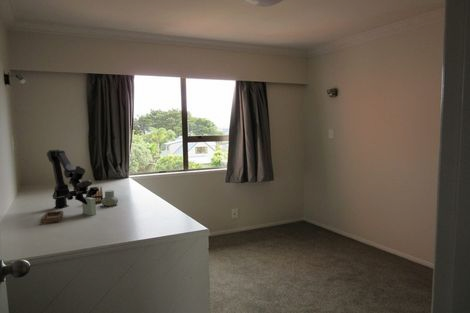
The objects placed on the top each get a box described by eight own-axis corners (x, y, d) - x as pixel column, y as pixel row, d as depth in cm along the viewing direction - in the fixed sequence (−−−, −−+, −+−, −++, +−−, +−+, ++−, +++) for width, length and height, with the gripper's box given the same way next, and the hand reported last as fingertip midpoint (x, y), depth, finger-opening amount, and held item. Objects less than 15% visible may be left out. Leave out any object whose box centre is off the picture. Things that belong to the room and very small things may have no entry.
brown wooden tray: (46, 217, 198) (46, 212, 198) (63, 215, 202) (63, 210, 201) (41, 224, 184) (40, 219, 183) (59, 222, 187) (59, 217, 186)
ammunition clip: (86, 204, 231) (85, 187, 230) (86, 203, 233) (85, 187, 232) (103, 202, 236) (102, 186, 235) (103, 202, 237) (102, 185, 236)
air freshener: (100, 207, 222) (99, 192, 221) (102, 204, 230) (101, 190, 229) (118, 205, 224) (117, 191, 224) (118, 203, 232) (118, 189, 232)
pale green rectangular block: (82, 213, 205) (81, 197, 205) (87, 212, 208) (86, 196, 207) (91, 215, 201) (90, 199, 200) (96, 214, 203) (95, 198, 202)
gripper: (67, 178, 197) (79, 198, 192) (95, 174, 213) (107, 192, 208) (61, 190, 202) (72, 209, 197) (89, 185, 218) (100, 203, 213)
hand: (89, 203), depth 204 cm, fingers closed on pale green rectangular block, 3 cm apart
